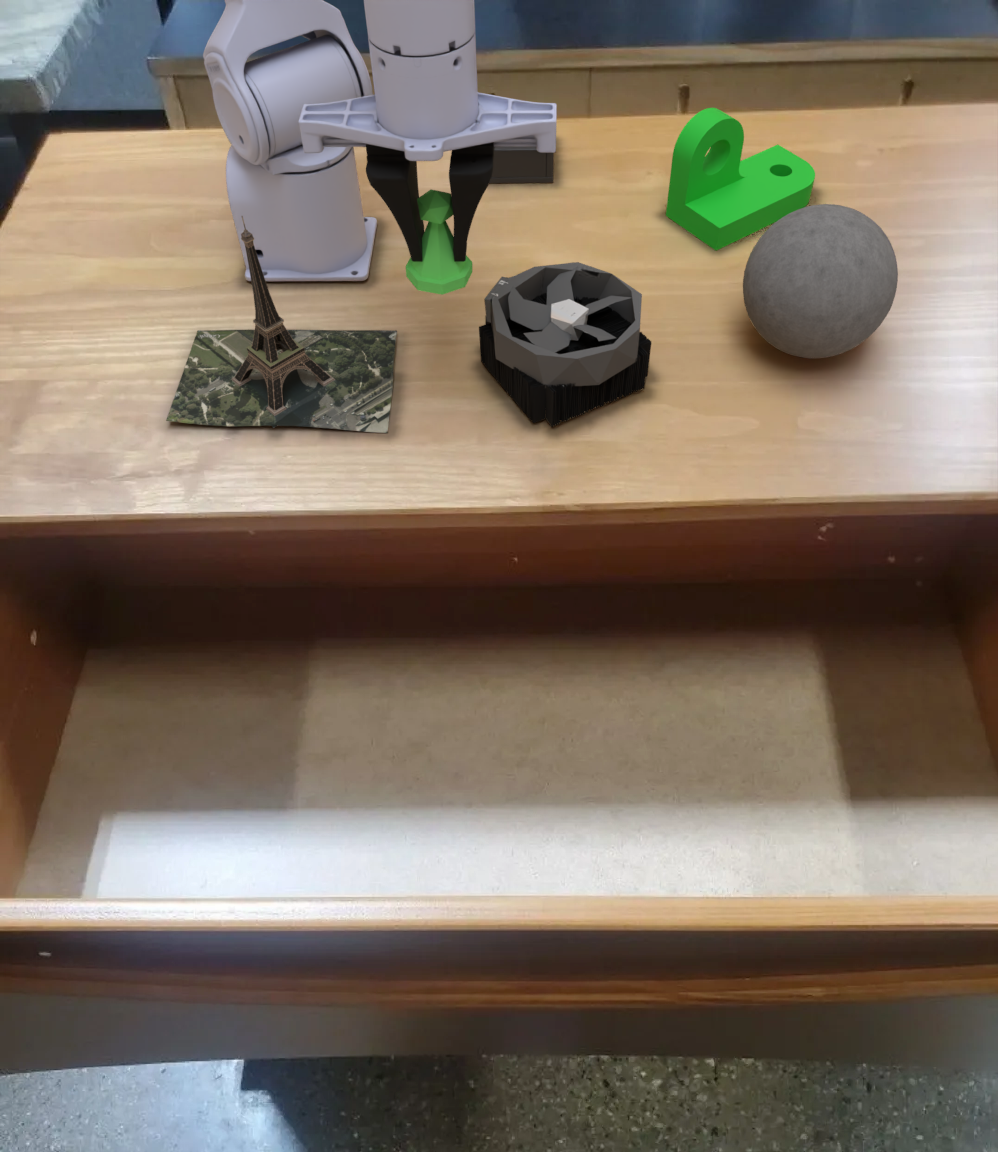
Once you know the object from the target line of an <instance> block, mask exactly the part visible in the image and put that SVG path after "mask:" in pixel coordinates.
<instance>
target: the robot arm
mask: <svg viewBox="0 0 998 1152" xmlns="http://www.w3.org/2000/svg"><path fill="white" fill-rule="evenodd" d="M224 3H225V7H224V10H223V12H222V14H221V16H220V18H219V20H218V22H217V24H216V25H215V27H214V29H213V31H212V33H211V35H210V36H209V39H208V40H207V43H206V44H205V47H204V50H203V53H202V58H203V65H204V68H205V71H206V74H207V76H208V80H209V83H210V87H211V91H212V99H213V104H214V105H213V106H214V109H215V112H216V114H217V118H218V121H219V123H220V126H221V128H222V130H223V133H224V134H225V136H226V138H227V140H228V142H229V143H230V146H229V149H228V151H227V156H226V163H225V183H226V194H227V199H228V204H229V208H230V213H231V216H232V220H233V223H234V227H235V231H236V235H237V239H238V243H239V247H240V250H241V254H242V258H243V262H244V266H245V272H244V278H245V280H246V281H248V282H251V276H250V271H249V265H248V259H247V253H246V248H245V244H244V242H243V241H242V240H241V238H242V236H241V234H242V233H243V232H244V230H245V228H244V224H243V220H242V216H243V219H244V223H245V227H246V229H247V230H248V231H249V232H250V233H252V235H253V237H254V240H253V243H254V247H255V250H256V254H257V257H258V260H259V263H260V266H261V269H262V272H263V275H264V278H265V281H266V282H363V281H366V280H367V279H368V278H369V274H370V269H371V262H372V256H373V250H374V244H375V237H376V233H377V227H378V221H377V218H376V217H373V216H365V215H364V209H363V202H362V196H361V189H360V181H359V176H358V168H357V162H356V155H355V148H365V151H366V166H365V175H366V178H367V180H368V183H369V185H370V187H372V189H374V191H375V192H376V193H377V195H378V196H379V197H380V198H381V199H382V201H383V202H384V203H385V205H386V206H387V208H388V209H389V211H390V213H391V214H392V216H393V218H394V220H395V222H396V223H397V225H398V227H399V230H400V231H401V234H402V236H403V239H404V242H405V243H406V246H407V250H408V252H409V256H410V257H411V260H412V261H413V262H423V260H422V237H423V234H424V232H425V224H424V223H425V222H424V220H421V219H420V213H419V207H418V202H417V199H418V198H419V197H420V191H419V181H418V180H419V179H418V178H419V177H418V163H417V162H436V161H439V160H441V159H442V158H443V156H444V153H445V152H450V151H451V155H450V159H449V160H450V161H449V169H448V182H449V188H450V193H451V197H452V206H453V216H452V217H453V237H454V239H453V254H454V262H464V261H466V255H467V248H468V238H469V235H470V234H469V233H470V229H471V226H472V222H473V220H474V217H475V214H476V211H477V208H478V206H479V204H480V201H481V200H482V198H483V196H484V193H485V192H486V190H487V188H488V187H489V184H490V183H489V181H490V179H491V176H492V173H493V163H494V148H495V147H526V146H537V151H538V152H541V153H554V154H555V153H556V152H557V121H558V120H557V119H558V118H557V117H558V116H557V112H558V111H557V110H558V109H557V107H558V105H557V103H556V102H536V101H528V100H523V99H516V98H510V97H505V96H499V95H494V94H488V93H485V92H479V91H478V88H479V87H478V65H477V63H478V62H477V39H476V10H475V9H476V8H475V0H363V6H364V15H365V22H366V29H367V30H366V31H367V40H368V48H369V49H368V50H369V57H370V66H371V74H372V80H371V76H370V73H369V70H368V68H367V65H366V63H365V60H364V58H363V56H362V54H361V52H360V51H359V50H358V48H357V47H356V45H355V42H354V41H353V39H352V36H351V34H350V32H349V30H348V29H349V28H348V27H347V25H346V21H345V19H344V17H343V15H342V12H341V10H340V9H339V8H337V7H336V6H334V5H332V4H331V3H329V2H327V1H325V0H224ZM300 36H301V37H303V38H305V39H307V40H306V41H304V42H300V43H297V44H295V45H292V46H289V47H287V48H284V49H280V50H278V51H275V52H272V53H269V54H266V55H263V56H261V57H258V58H255V59H251V60H249V61H248V59H249V58H250V56H251V55H253V54H254V53H256V52H258V51H259V50H262V49H265V48H268V47H271V46H274V45H277V44H280V43H283V42H285V41H290V40H291V39H295V38H297V37H300ZM372 81H373V86H372ZM373 91H374V92H373Z"/></svg>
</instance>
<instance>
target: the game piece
mask: <svg viewBox="0 0 998 1152" xmlns="http://www.w3.org/2000/svg"><path fill="white" fill-rule="evenodd" d="M417 202H418V207H419V213H420V219H421V220H423V222H424V221H425V222H427V224H426V227H425V228H424V234H423V237H422V260H423V262H413V261H412V260H411V256H410V257H409V259H408V260H407V263H406V265H405V276H406V278H407V279H408V280H409V282H410V283H411V284H412V285H413V286H414V288H415V289H416V290H417V291H420V292H425V293H430V294H434V295H435V294H436V295H440V296H442V295H443V296H444V295H446V294H449V293H453V292H455V291H458V290H460V289H463V288H466V287H467V285H468V282H469V280H470V278H471V276H472V274H473V260H471V259H470V258H469V256H468V255H467V254H466V261H464V262H454V254H453V239H454V234H453V233H452V231H451V229H450V226H449V224H448V223H447V222H448V221H447V220H449V219H450V218H452V217H454V216H453V206H452V197H451V192H446V191H440V190H435V189H431V188H430V189H429V190H428V191H426V192H425V193H423V194H422V195H421V196H419V198H418V199H417Z"/></svg>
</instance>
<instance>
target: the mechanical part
mask: <svg viewBox="0 0 998 1152" xmlns="http://www.w3.org/2000/svg"><path fill="white" fill-rule="evenodd" d="M744 140H745V131H744V127H743V125H742V124H741V122H740V121H739V120H737V119H736V118H735V117H732V116H731V115H729V114H727V113H726V112H724V111H723V110H720V109H719V108H717V107H707V108H704V109H702V110H700V111H698V112H697V113H696V114H694V115H693V116H692V117H691V118H690V119H689V120H688V121H687V122H686V124H685V125H684V127H683V128H682V130H681V131H680V133H679V134H678V137H677V139H676V141H675V144H674V148H673V152H672V159H671V167H670V176H669V184H668V191H667V200H666V201H667V202H666V210H665V216H666V217H667V218H668V219H670V220H671V221H672V222H674V223H676V224H677V225H678V226H680V227H681V228H683V230H686V231H687V232H689V233H690V234H691V235H693V236H694V237H696V238H697V239H698V240H700V241H701V242H703V243H704V244H706V245H707V246H708V247H710V248H711V249H713V250H714V251H716V252H717V251H719V250H721V249H723V248H725V247H727V246H729V245H731V244H733V243H735V242H738V241H739V240H742V239H744V238H745V237H748V236H750V235H752V234H754V233H756V232H759V231H760V230H762V229H764V228H766V227H770V226H772V225H773V224H774V223H775V222H777V221H778V220H779V219H781V218H782V217H784V216H786V215H787V214H789V213H791V212H794V211H796V210H798V209H801V208H804V207H807V206H808V205H809V203H810V199H811V197H812V191H813V188H814V183H815V178H816V171H815V169H814V167H813V166H812V165H811V164H810V163H809V162H808V161H807V160H805V159H803V158H802V157H800V156H798V155H797V154H795V153H793V152H791V151H790V150H788V149H786V148H785V147H784V146H781V145H780V144H775V145H773V146H771V147H769V148H766V149H765V150H762V151H760V152H757V153H756V154H753V155H750V156H748V157H747V158H744V159H742V153H743V148H744V143H745V141H744ZM741 159H742V160H741Z"/></svg>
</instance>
